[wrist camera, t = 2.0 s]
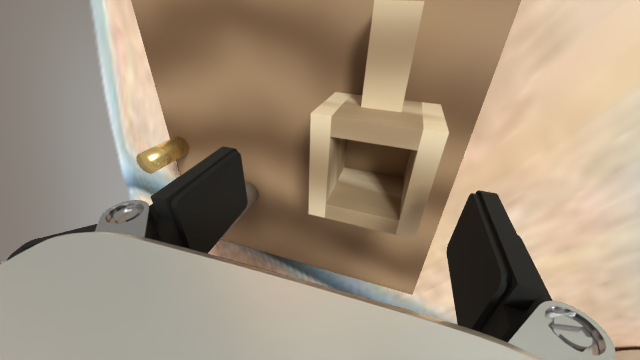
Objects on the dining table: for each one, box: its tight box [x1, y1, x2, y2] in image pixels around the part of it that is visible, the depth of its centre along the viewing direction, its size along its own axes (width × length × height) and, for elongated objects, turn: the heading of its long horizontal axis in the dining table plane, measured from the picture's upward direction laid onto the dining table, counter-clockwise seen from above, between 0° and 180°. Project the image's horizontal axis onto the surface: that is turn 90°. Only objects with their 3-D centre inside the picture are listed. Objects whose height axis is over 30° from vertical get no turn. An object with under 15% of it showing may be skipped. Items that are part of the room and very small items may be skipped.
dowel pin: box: [137, 136, 189, 173], centre depth 20 cm, size 2×2×4 cm
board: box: [131, 0, 521, 294], centre depth 18 cm, size 22×22×6 cm
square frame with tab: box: [308, 0, 449, 239], centre depth 14 cm, size 10×6×4 cm, turn 177°
